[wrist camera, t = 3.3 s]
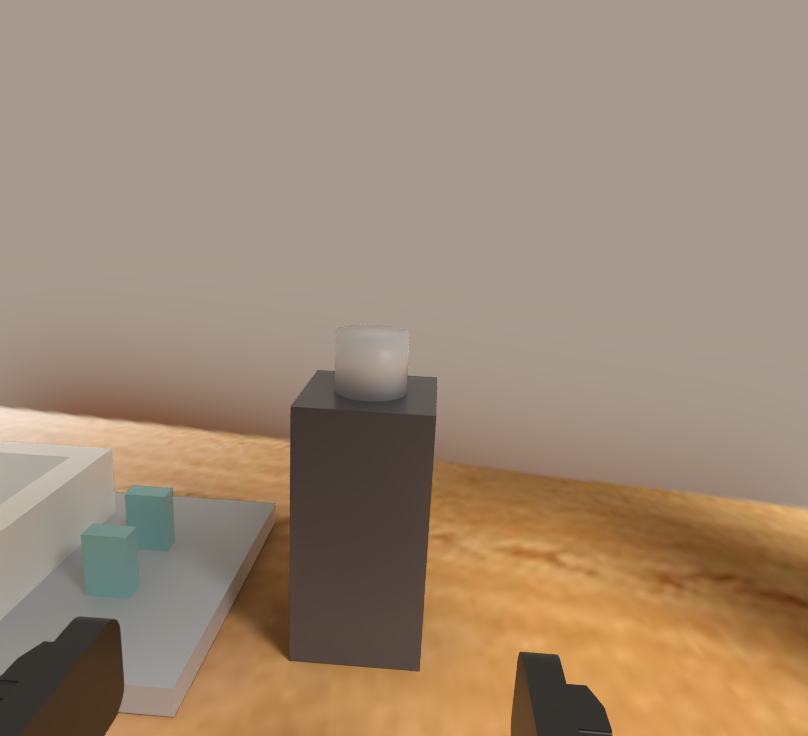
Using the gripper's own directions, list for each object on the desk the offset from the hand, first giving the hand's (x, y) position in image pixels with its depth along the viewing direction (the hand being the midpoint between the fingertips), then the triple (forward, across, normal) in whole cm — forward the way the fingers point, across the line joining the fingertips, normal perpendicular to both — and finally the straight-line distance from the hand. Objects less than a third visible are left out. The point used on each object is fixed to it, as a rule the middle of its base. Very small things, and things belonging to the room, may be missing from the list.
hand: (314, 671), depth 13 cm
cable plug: (+10, 0, +6) cm, 11 cm away
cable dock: (+11, +13, +6) cm, 18 cm away
